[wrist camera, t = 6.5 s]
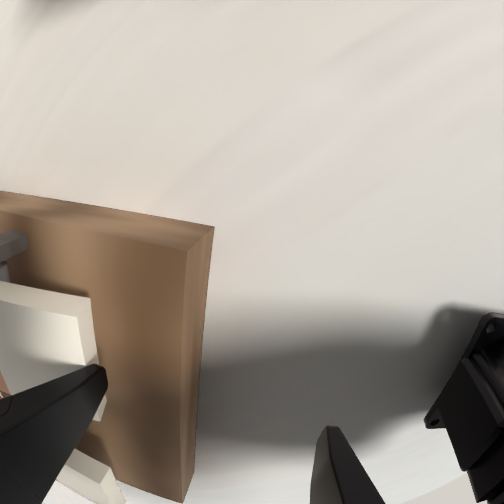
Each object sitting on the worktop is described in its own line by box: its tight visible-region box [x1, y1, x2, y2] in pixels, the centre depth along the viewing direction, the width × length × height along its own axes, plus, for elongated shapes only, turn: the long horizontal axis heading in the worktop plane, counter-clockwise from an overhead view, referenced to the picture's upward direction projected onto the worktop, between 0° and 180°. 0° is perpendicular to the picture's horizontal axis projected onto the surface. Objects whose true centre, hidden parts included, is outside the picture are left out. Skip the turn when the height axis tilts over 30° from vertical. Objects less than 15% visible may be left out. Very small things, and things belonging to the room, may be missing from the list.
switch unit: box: [0, 191, 214, 504], centre depth 13 cm, size 15×18×5 cm
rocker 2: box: [0, 396, 126, 504], centre depth 12 cm, size 9×6×2 cm, turn 81°
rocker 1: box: [0, 260, 107, 421], centre depth 9 cm, size 9×6×2 cm, turn 81°
